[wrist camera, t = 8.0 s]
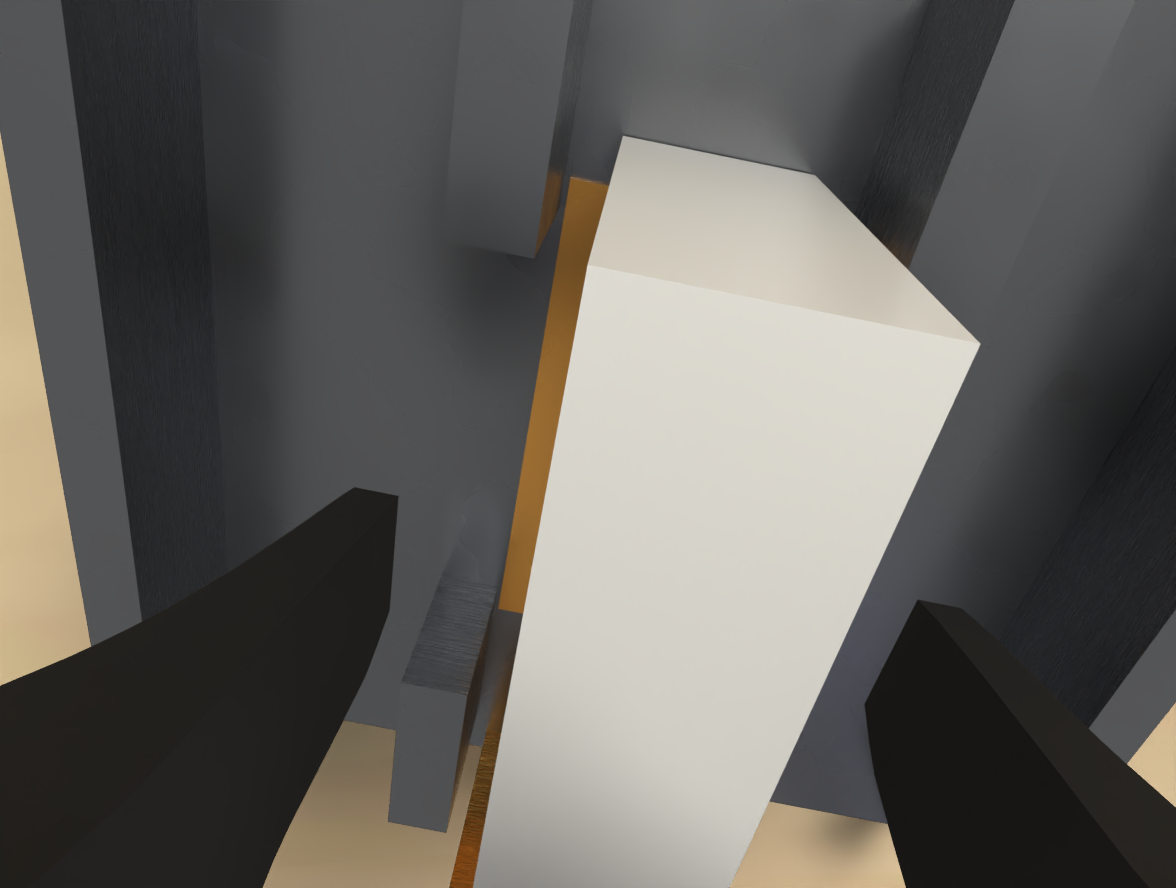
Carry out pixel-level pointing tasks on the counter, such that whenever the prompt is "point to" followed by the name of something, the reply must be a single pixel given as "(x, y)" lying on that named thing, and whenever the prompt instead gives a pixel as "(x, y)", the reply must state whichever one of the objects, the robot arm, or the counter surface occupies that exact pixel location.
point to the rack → (552, 301)
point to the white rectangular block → (706, 516)
